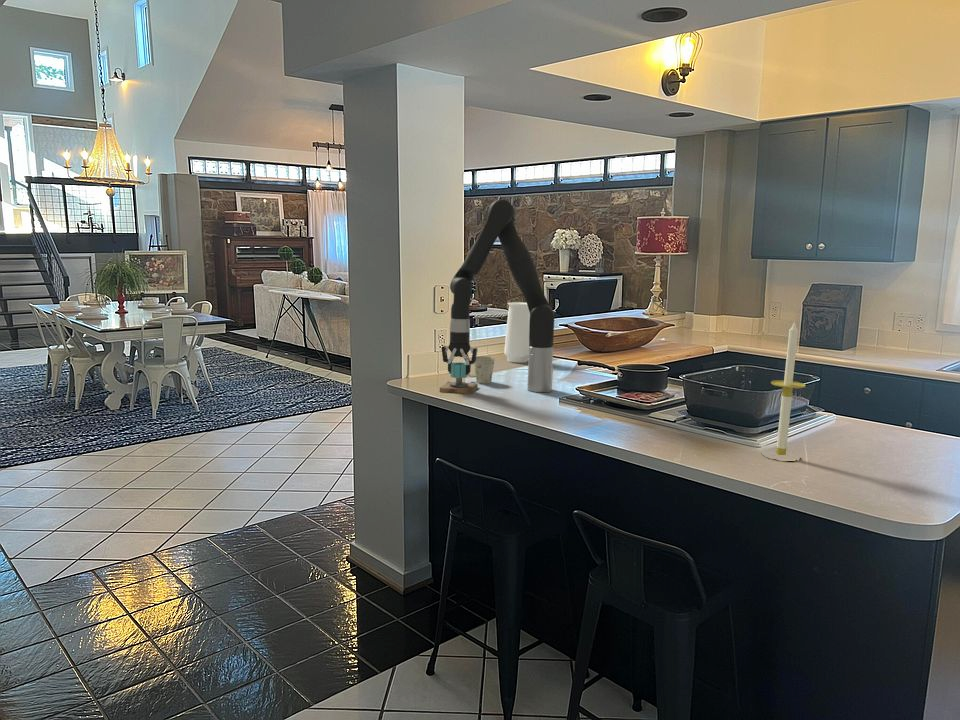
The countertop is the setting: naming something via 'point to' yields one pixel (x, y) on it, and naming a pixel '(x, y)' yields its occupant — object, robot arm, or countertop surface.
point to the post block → (458, 387)
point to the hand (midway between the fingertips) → (459, 373)
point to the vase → (517, 333)
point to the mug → (483, 369)
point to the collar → (458, 370)
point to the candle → (787, 391)
